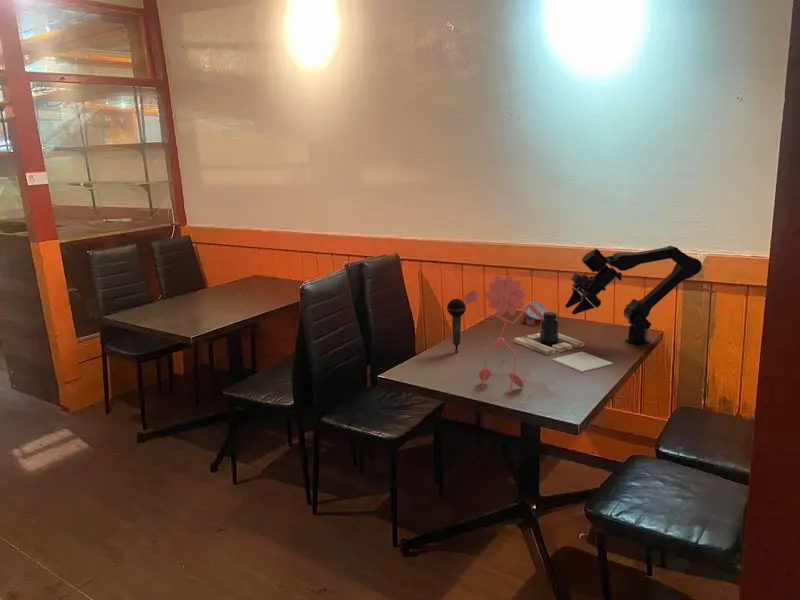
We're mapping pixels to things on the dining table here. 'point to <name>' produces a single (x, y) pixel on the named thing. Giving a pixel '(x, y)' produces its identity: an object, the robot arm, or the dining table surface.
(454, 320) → the microphone
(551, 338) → the supplement bottle
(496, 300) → the figurine
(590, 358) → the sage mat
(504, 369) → the dining table surface
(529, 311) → the canned food
